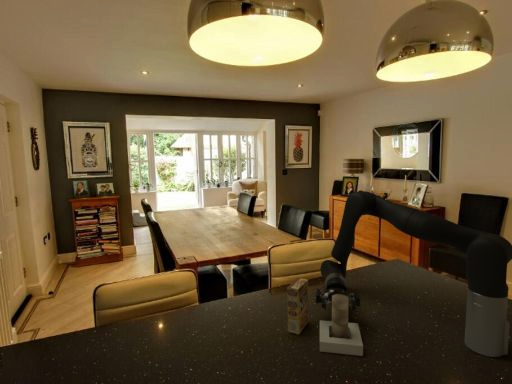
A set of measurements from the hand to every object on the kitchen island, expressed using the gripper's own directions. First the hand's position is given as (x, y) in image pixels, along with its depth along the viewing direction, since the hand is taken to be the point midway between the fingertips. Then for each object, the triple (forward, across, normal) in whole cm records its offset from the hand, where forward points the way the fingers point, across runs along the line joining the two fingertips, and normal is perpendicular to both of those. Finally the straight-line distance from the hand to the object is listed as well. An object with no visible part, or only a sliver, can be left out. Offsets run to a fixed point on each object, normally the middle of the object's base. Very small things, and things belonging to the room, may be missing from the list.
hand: (338, 307), depth 96 cm
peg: (+3, 0, +9) cm, 10 cm away
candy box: (-3, -13, +9) cm, 16 cm away
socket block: (+3, 0, +9) cm, 10 cm away
